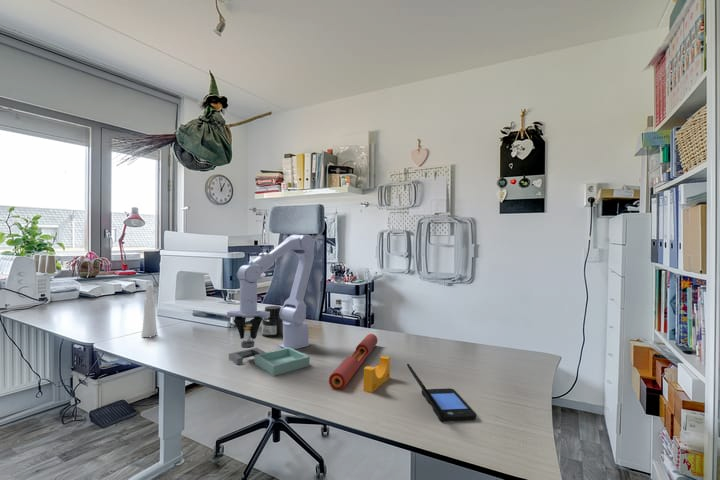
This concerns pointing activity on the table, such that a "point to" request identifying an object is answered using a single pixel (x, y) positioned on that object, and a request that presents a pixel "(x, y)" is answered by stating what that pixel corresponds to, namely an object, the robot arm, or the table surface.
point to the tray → (281, 361)
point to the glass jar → (247, 337)
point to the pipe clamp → (376, 374)
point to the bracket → (237, 356)
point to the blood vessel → (352, 363)
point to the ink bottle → (272, 322)
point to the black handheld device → (446, 403)
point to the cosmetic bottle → (149, 313)
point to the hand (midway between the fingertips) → (248, 338)
